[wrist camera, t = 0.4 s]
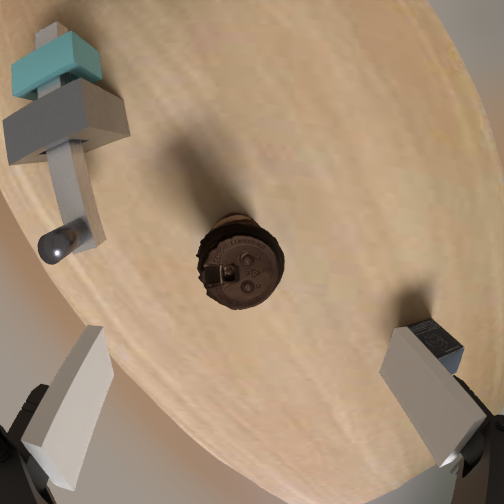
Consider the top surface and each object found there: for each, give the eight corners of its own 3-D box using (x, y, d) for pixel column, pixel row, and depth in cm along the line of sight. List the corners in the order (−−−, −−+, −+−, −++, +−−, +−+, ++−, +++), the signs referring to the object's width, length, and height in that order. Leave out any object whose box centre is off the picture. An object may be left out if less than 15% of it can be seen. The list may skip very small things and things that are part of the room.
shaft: (47, 40, 22) (7, 17, 13) (68, 29, 22) (30, 2, 13) (84, 245, 30) (45, 275, 21) (106, 239, 30) (70, 268, 21)
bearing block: (59, 126, 32) (2, 120, 20) (123, 100, 32) (80, 77, 20) (65, 160, 34) (9, 165, 21) (130, 135, 34) (88, 127, 21)
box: (393, 353, 48) (422, 388, 38) (397, 327, 47) (429, 361, 36) (427, 342, 49) (457, 373, 39) (432, 317, 47) (465, 347, 37)
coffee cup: (188, 242, 39) (173, 281, 26) (227, 190, 37) (229, 205, 25) (242, 279, 41) (250, 330, 29) (280, 230, 39) (307, 264, 27)
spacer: (46, 77, 26) (11, 64, 19) (99, 52, 26) (71, 30, 19) (48, 104, 27) (12, 96, 20) (102, 79, 28) (73, 62, 20)
